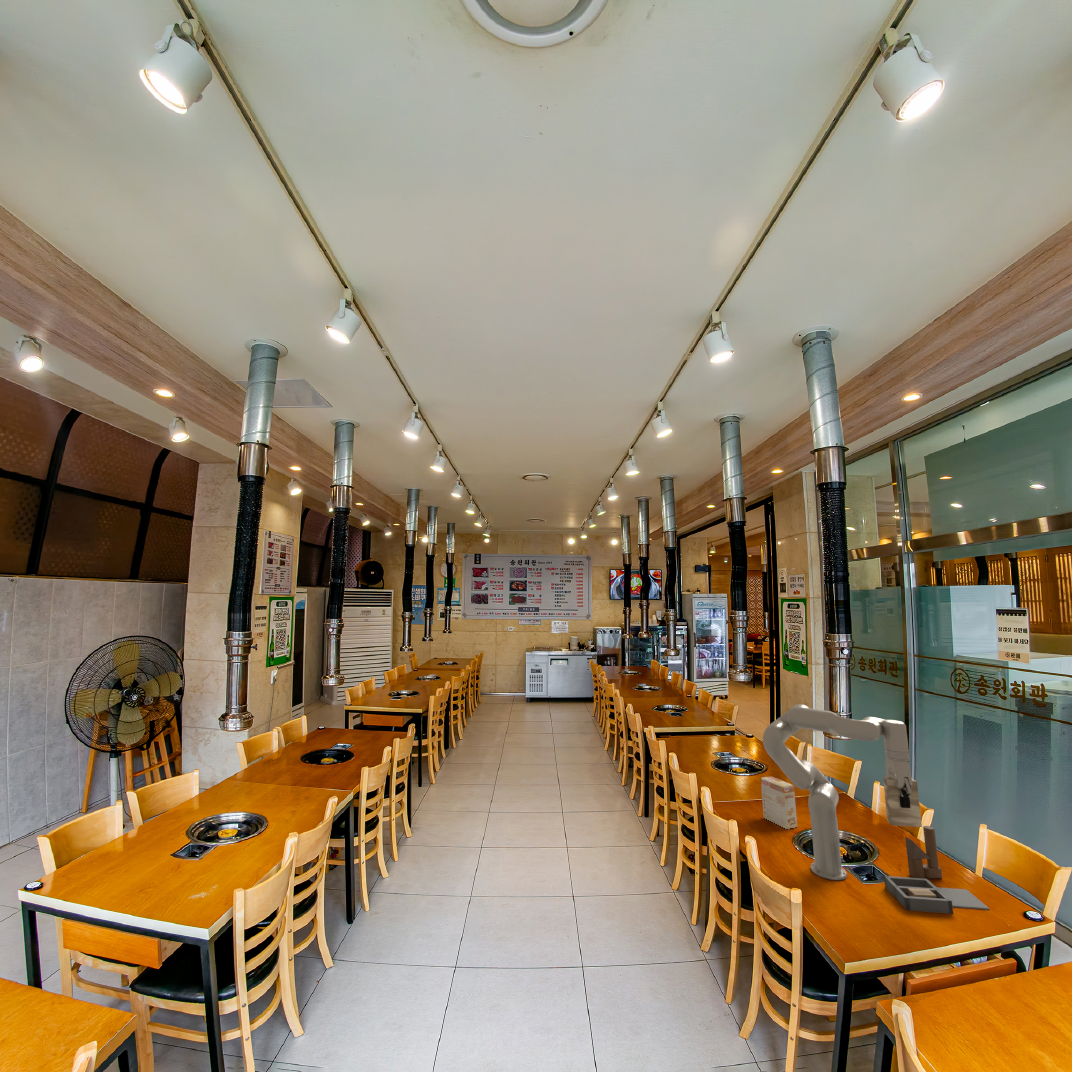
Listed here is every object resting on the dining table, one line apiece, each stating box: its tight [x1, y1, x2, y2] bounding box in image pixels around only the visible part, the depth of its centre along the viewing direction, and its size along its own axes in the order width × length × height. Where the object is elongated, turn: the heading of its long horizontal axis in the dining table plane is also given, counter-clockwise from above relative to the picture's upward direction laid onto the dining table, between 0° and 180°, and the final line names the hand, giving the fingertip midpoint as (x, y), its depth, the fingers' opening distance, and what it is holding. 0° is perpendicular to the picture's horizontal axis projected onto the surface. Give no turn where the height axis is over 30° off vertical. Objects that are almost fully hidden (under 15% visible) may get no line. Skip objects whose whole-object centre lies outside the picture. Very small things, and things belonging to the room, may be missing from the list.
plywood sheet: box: [882, 776, 923, 828], centre depth 191 cm, size 4×10×16 cm, turn 80°
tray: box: [883, 875, 954, 915], centre depth 183 cm, size 15×15×4 cm
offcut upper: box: [908, 888, 936, 898], centre depth 180 cm, size 4×7×2 cm, turn 84°
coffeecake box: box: [760, 776, 798, 830], centre depth 251 cm, size 15×7×20 cm, turn 19°
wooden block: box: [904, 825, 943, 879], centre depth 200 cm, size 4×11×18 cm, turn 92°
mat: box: [936, 886, 990, 911], centre depth 184 cm, size 12×13×1 cm
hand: (902, 805), depth 191 cm, fingers closed on plywood sheet, 3 cm apart
